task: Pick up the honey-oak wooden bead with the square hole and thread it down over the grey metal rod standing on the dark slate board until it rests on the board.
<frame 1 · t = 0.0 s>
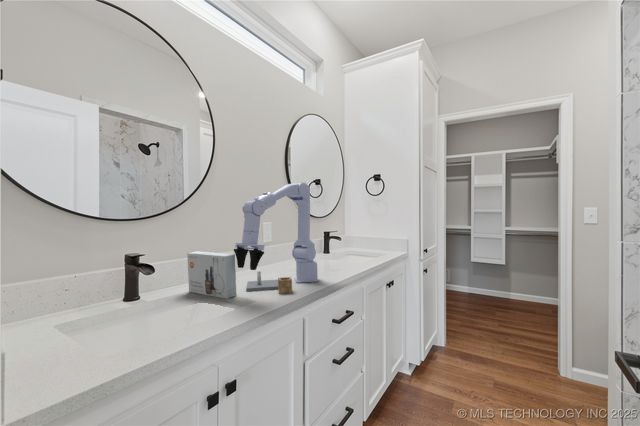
hand: (246, 268, 107), 11 cm above the worktop, tool pointing down, fingers open, 7 cm apart
lacing board: (268, 286, 123), on the worktop
oak bead: (285, 291, 114), on the worktop
skincare box: (211, 294, 113), on the worktop, touching gripper
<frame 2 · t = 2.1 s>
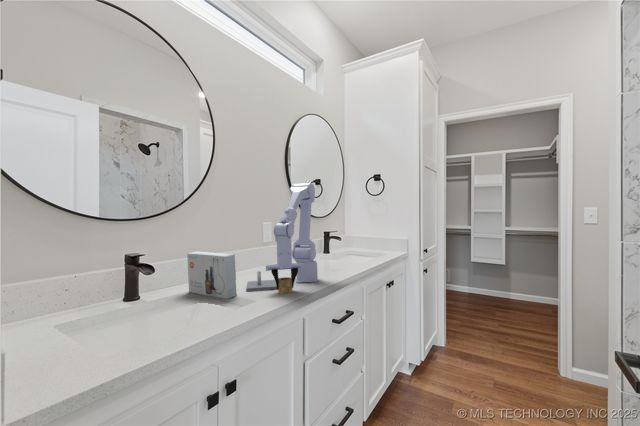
hand: (285, 287, 114), 1 cm above the worktop, tool pointing down, fingers closed on oak bead, 5 cm apart
oak bead: (285, 291, 114), on the worktop, touching gripper
skincare box: (211, 294, 113), on the worktop
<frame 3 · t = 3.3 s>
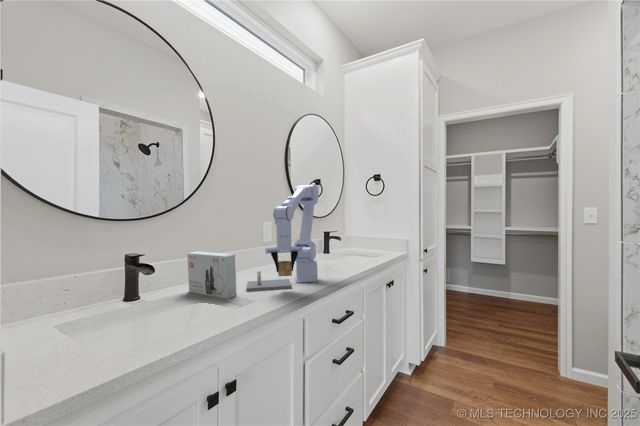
hand: (284, 271, 114), 8 cm above the worktop, tool pointing down, fingers closed on oak bead, 5 cm apart
oak bead: (284, 274, 114), point 7 cm above the worktop, touching gripper
everything else where it was.
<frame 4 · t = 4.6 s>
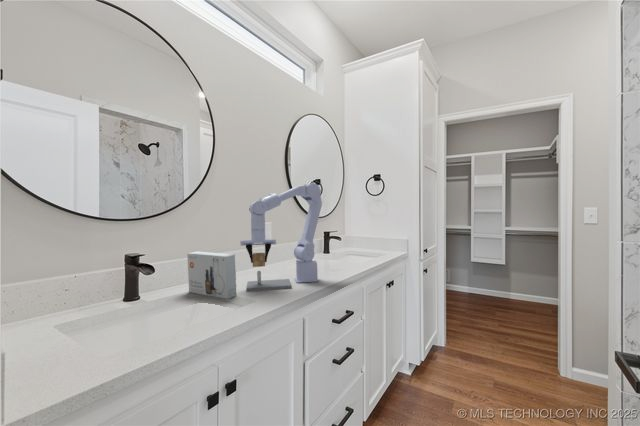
hand: (258, 262, 122), 10 cm above the worktop, tool pointing down, fingers closed on oak bead, 5 cm apart
oak bead: (258, 265, 122), point 9 cm above the worktop, touching gripper
everything else where it was.
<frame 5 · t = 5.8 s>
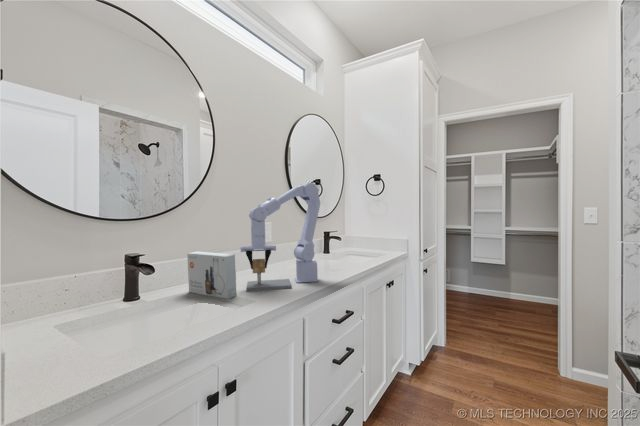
hand: (258, 268, 122), 8 cm above the worktop, tool pointing down, fingers closed on oak bead, 5 cm apart
oak bead: (258, 271, 122), point 6 cm above the worktop, touching gripper
everything else where it was.
when the fingers open (4 cm above the worktop, at t = 7.0 s): oak bead drops 2 cm, resting on lacing board.
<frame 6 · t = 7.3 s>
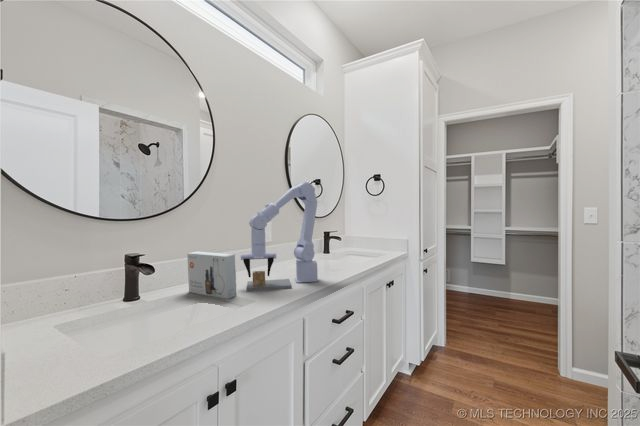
hand: (259, 276, 122), 4 cm above the worktop, tool pointing down, fingers open, 7 cm apart
oak bead: (259, 284, 122), point 1 cm above the worktop, touching lacing board
everything else where it was.
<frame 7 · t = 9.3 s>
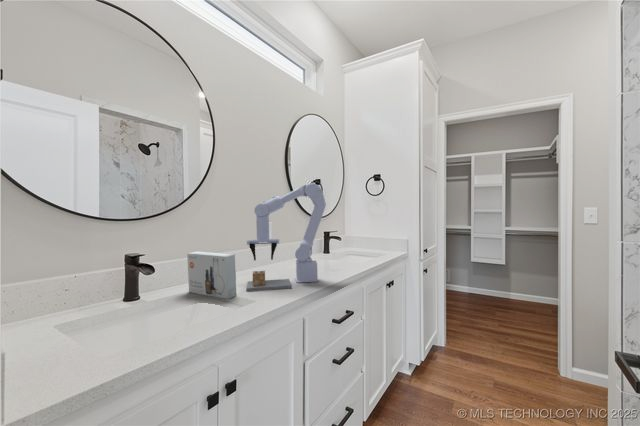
hand: (263, 259, 134), 9 cm above the worktop, tool pointing down, fingers open, 7 cm apart
nothing on the worktop moved.
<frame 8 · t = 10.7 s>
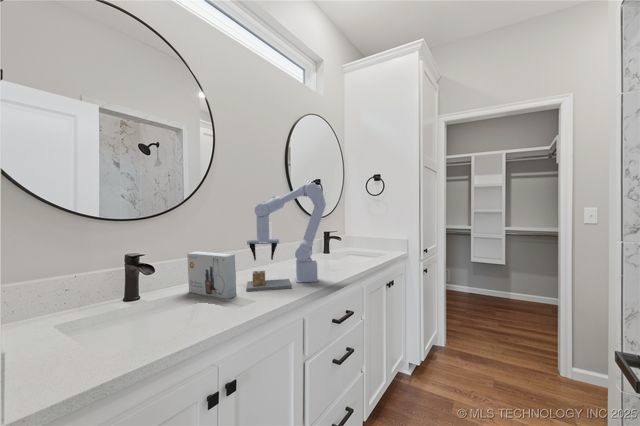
hand: (263, 259, 134), 9 cm above the worktop, tool pointing down, fingers open, 7 cm apart
nothing on the worktop moved.
at the end: oak bead 0.1 cm from the target spot on the lacing board, point 1.2 cm above the lacing board's base; oak bead tilted 0°; the gripper is holding nothing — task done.
